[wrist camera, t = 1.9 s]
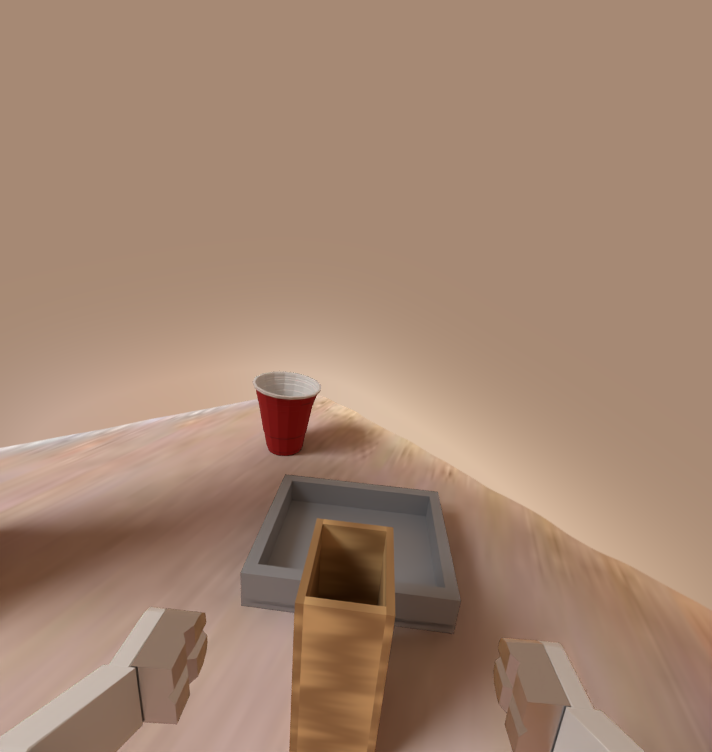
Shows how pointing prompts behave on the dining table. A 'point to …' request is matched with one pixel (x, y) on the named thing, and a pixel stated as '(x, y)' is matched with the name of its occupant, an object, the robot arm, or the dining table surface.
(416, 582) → the gray tray
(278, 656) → the dining table surface
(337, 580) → the wooden pencil holder
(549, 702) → the robot arm
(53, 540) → the dining table surface
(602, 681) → the dining table surface
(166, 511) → the dining table surface
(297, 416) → the plastic cup
